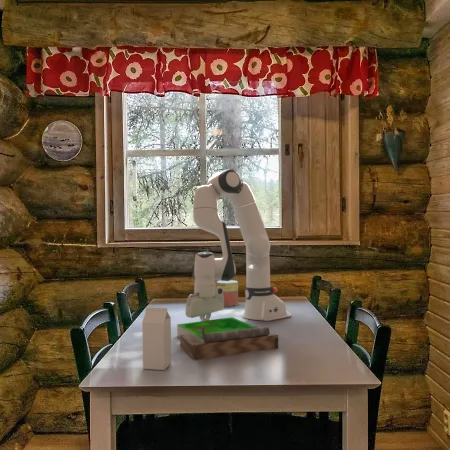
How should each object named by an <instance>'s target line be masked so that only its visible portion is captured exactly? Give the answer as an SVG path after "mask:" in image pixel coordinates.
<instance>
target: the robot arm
mask: <svg viewBox="0 0 450 450" xmlns="http://www.w3.org/2000/svg"><path fill="white" fill-rule="evenodd" d="M225 197H227V198H228V199H229V201H230V202H231V206H232V209H233V212H234V215H235V218H236V221H237V225H238V227H239V230H240V233H241V236H242V239H243V243H244V246H245V259H246V261H245V263H246V268H245V270H246V275H245V276H246V277H245V278H246V279H245V280H246V283H245V284H246V285H245V291H244V292H245V293H244V295H245V306H244V312H243V315H242V317H243V318H245V319H247V320H256V321H265V322H266V321H267V322H268V321H274V320H280V319H286V318H291V317H292V313H291V312H289V311H287V306H286V303H285V302H284V301H283V300H282V299H281V298H280V297H278V296H277V295H276V294H274V293H277V292H278V288H277V287H272V286H271V264H270V263H271V261H270V252H271V251H270V250H271V242H270V239H269V235H268V233H267V230H266V227H265V224H264V222H263V221H264V220H263V218H262V216H261V213H260V210H259V207H258V204H257V202H256V201H257V200H256V199H255V196H254V194H253V191H252V189H251V188H250V185H249V184H248V183H246V182H244V181H243V179H242V177H241V175H240V174H239V173H238V171H236V170H234V169H230V168H228V169H224V170H222V171H219V172H216V173H215V174H214V175H212V176H211V177H209V178H207V180H206V181H205V182H204V184H203V185H200V186H198V187H196V189H195V190H194V197H193V204H192V205H193V206H192V210H193V212H192V213H193V214H192V215H193V216H192V217H193V221H194V224H195V225H196V226H197V227H198V228H199V229H201V230H202V231H205V232H208V233H210V234H212V235H215V236H216V237H218V238H219V240H220V241H219V242H220V245H221V251H222V252H221V253H222V257H215V254H214V253H213V252H211V251H200V252H197V253H196V254H195V259H194V261H193V262H192V263H191V268H192V269H191V271H192V272H191V276H192V277H193V278H194V284H193V285H194V286H193V287H194V288H193V289H194V293H191V294H189V296H187V299H186V304H185V316H186V317H187V318H190V319H194V318H197V317H199V320H200V321H207V320H211V317H212V314H213V313H216V312H219V311H223V309H224V307H225V306H224V296H223V293H224V289H223V288H219V287H217V282H216V281H220V280H221V281H230V280H233V279H234V278H235V276H236V272H237V269H236V264H235V261H234V257H233V254H232V248H231V242H230V236H229V233H228V228H227V224H226V222H225V221H223V220H222V219H221V217H220V215H219V200H220V199H222V198H225Z"/></svg>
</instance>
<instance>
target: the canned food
mask: <svg viewBox="0 0 450 450" xmlns="http://www.w3.org/2000/svg"><path fill="white" fill-rule="evenodd" d="M216 287H219V288H223V289H224V293H223V296H224V307H234V306H233V305H235V306H238V305H239V281H238V280H234V279H231V280H230V281H221V280H216ZM237 304H238V305H237Z"/></svg>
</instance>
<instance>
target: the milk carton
mask: <svg viewBox="0 0 450 450" xmlns="http://www.w3.org/2000/svg"><path fill="white" fill-rule="evenodd" d="M171 318H172V317H171V315H170V313H169V312H168V308H167V307H153V306H152V307H149V306H148V307H147V306H146V307H145V312H144V316H143V319H142V322H141V324H142V330H141V331H142V334H141V335H142V369H143V370H157V371H165V370H166V369H167V368H168V367H169V366H170V365H171V364H172V328H171V327H172V325H171V323H172V321H171V320H172V319H171Z"/></svg>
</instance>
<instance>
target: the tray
mask: <svg viewBox="0 0 450 450" xmlns="http://www.w3.org/2000/svg"><path fill="white" fill-rule="evenodd" d="M254 326H255V325H251V324H250V323H247V322H245V321H243V320H240V319H237V318H235V317H233V316H230V317H223V318H215V319H209V320H207V321H201V320H200V321H194V322H193V321H192V322H185V323H180V324H179V323H177V325H176V328H177V330H176V331H177V333H176V334H177V337H179V338H180V335H182V334H184V335H185V336H186V337H188V338H189V339H190V340H191V341H192V342H194V343H201V342H204V339H202V327H205V334H209V333H218V332H226V331H235V330H243V329H252V328H257V327H254Z"/></svg>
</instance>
